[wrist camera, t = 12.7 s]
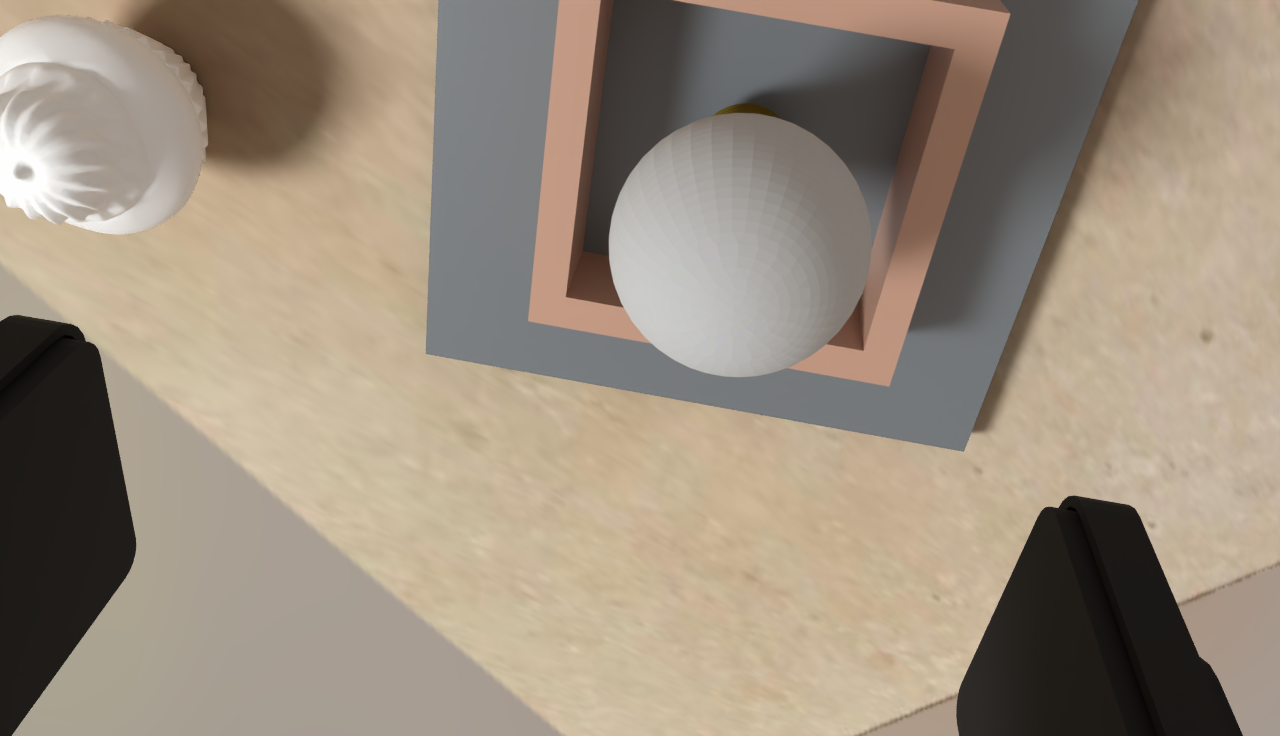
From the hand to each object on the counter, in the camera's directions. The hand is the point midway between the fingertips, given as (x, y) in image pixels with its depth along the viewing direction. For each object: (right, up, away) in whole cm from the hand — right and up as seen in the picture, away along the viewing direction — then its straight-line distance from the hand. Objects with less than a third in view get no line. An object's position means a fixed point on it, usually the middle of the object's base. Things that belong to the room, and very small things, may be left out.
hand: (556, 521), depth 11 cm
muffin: (-14, +10, +22) cm, 28 cm away
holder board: (+4, +8, +20) cm, 22 cm away
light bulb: (+4, +8, +19) cm, 21 cm away
